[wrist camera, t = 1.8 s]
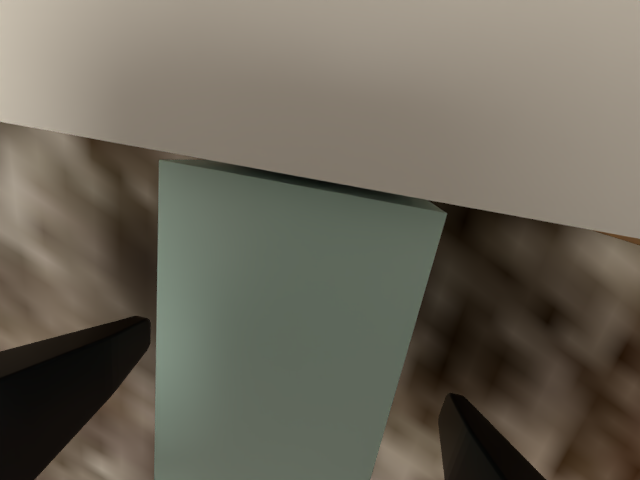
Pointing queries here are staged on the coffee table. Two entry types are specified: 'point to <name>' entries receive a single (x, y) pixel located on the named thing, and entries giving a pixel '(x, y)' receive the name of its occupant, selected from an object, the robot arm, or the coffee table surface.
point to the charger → (281, 320)
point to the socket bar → (355, 93)
